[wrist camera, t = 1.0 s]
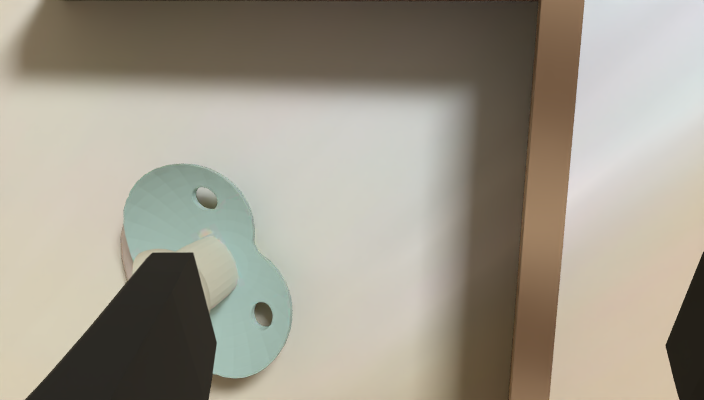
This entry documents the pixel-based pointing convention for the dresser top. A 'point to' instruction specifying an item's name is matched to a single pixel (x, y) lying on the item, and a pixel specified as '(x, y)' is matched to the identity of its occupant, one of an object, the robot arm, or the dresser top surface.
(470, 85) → the dresser top surface
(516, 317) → the open box
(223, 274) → the pacifier
